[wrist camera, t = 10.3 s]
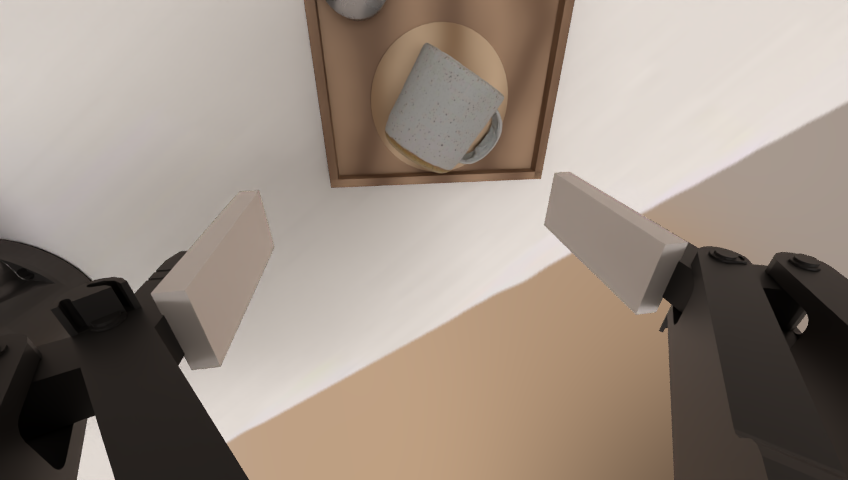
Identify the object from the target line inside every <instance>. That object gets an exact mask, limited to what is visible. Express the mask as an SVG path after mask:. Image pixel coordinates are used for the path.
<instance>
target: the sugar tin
mask: <svg viewBox="0 0 848 480" xmlns="http://www.w3.org/2000/svg"><path fill="white" fill-rule="evenodd" d="M325 1H326V2H327V3H328V4H329V5H330V7H332V8H333V9H334V10H335V11H336V12H337V13H339V14H340V15H342V16H344V17H346V18H348V19H350V20H354V21H364V20H368V19H370V18H372V17H374V16H375V15H376V14H377V13H378V12H379V11H380V10H381V8H382V7H383V5H384V3H385V1H386V0H325Z"/></svg>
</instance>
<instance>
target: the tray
mask: <svg viewBox="0 0 848 480" xmlns="http://www.w3.org/2000/svg"><path fill="white" fill-rule="evenodd" d="M574 1H575V0H386V1H385V3H384V5H383V7H382V8H381V10H380V11H379V12H378V13H377V14H376V15H375V16H374V17H372V18H370V19H368V20H364V21H354V20H350V19H348V18H346V17H344V16H342V15H340V14H339V13H337V12H336V11H335V10H334V9H333V8H332V7H330V5H329V4H328V3H327V2H326V1H325V0H304V4H305V11H306V18H307V25H308V32H309V39H310V46H311V52H312V59H313V66H314V73H315V80H316V87H317V94H318V100H319V107H320V114H321V121H322V128H323V135H324V142H325V148H326V155H327V162H328V169H329V176H330V183H331V188H336V187H359V186H382V185H406V184H429V183H452V182H476V181H499V180H522V179H541V175H542V170H543V164H544V159H545V154H546V149H547V143H548V138H549V133H550V128H551V122H552V117H553V112H554V106H555V101H556V96H557V91H558V85H559V80H560V75H561V70H562V64H563V59H564V54H565V48H566V43H567V38H568V33H569V27H570V22H571V17H572V12H573V6H574ZM425 43H429V44H431V45H433V46H435V47H437V48H438V49H440V50H441V51H442V52H444V53H446V54H448V55H449V56H451V57H452V58H454V59H455V60H457V61H458V62H459V63H461V64H462V65H463V66H465V67H466V68H468V69H469V70H471V71H472V72H474V73H475V74H476V75H478V76H479V77H480V78H482V79H483V80H485V81H486V82H488V83H489V84H490V85H492V86H493V87H494V88H495V89H497V90H498V91H499V92H500V93H502V94H503V96H504V100H503V102H502V103H501V105H500V106H499V108H498V111H499V113H500V116H501V118H502V132H501V135H500V138H499V140H498V142H497V143H496V145H495V146H494V148H493V149H492V150H491V151H490V152H489V153H488V154H487V155H486V156H485V157H484V158H483V159H481V160H479V161H477V162H475V163H472V164H462V163H458V164H457V165H456V166H455V167H454V168H453V169H452V170H451V171H449V172H447V173H436V172H433V171H430V170H428V169H425V168H423V167H421V166H419V165H417V164H416V163H414V162H412V161H411V160H409V159H408V158H406V157H405V156H403V155H402V154H401V153H399V152H398V151H397V150H396V149H395V148H394V147H393V146H392V145H391V144H390V143H389V142H388V140H387V138H386V135H385V127H386V124H387V121H388V118H389V114H390V112H391V110H392V108H393V106H394V104H395V102H396V101H397V99H398V97H399V95H400V93H401V91H402V88H403V86H404V84H405V82H406V80H407V78H408V76H409V74H410V72H411V70H412V68H413V66H414V64H415V62H416V60H417V58H418V55H419V53H420V51H421V49H422V47H423V45H424V44H425ZM491 121H492V118H491V119H490V120H489V121H488V123H487V124H486V125H485V127H484V128H483V129H482V131H481V132H480V133H479V135H478V136H477V137H476V139H475V140H474V141H473V143H472V144H471V146H470V148H469V149H468V151H467V152H466V154H467V153H470V152H472V151H473V150H474V149H475V147H477V146H478V145H479V144H480V142H481V141H482V140H483V139H484V137H485V136H486V135H487V133H488V132H489V129H490V127H491Z"/></svg>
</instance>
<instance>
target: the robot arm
mask: <svg viewBox="0 0 848 480" xmlns="http://www.w3.org/2000/svg"><path fill="white" fill-rule="evenodd" d="M544 226H546V227H547V228H548V229H549V230H550V231H551V232H552V233H553V234H554V235H555V236H556V237H557V238H558V239H559V240H560V241H561V242H562V243H563V244H564V245H565V246H566V247H567V248H568V249H569V250H570V251H571V252H572V253H573V254H574V255H575V256H576V257H577V258H578V259H579V260H580V261H581V262H583V264H585V265H586V266H587V267H588V268H589V269H590V270H591V271H592V272H593V273H594V274H595V275H596V276H597V277H598V278H599V279H600V280H601V281H602V282H603V283H604V284H605V285H606V286H607V287H608V288H609V289H610V290H611V291H612V292H613V293H614V294H615V295H616V296H617V297H618V298H619V299H620V300H621V301H622V302H624V304H626V305H627V306H628V307H629V308H630V309H631V310H632V311H633V312H634V313H635V314H636V315H637V314H645V313H652V312H656V311H657V309H658V307H659V305H660V303H661V301H662V298H664V299H666V300H667V301H668V302H669V303H670V304H672V305H671V307H670V309H669V311H668V313H667V315H666V317H665V319H664V321H663V323H662V326H661V328H660V330H659V331H661V332H663V331H664V329H665V328H668V343H669V367H670V390H671V414H672V437H673V461H674V480H848V279H847V278H845V277H844V276H843V275H841V274H840V273H839V272H837V271H836V270H835V269H834V268H832V267H831V266H829V265H827V264H826V263H824V262H821V261H819V260H817V259H816V258H814V257H811V256H807V255H804V254H795V253H788V252H780V253H776V254H775V255H774V257H773V259H772V260H771V262H770V264H769V265H768V266H764V265H753V264H752V263H751V262H750V261H749V260H748V259H747V258H746V257H744V256H742V255H740V254H738V253H736V252H733V251H730V250H727V249H723V248H719V247H712V246H707V247H701V248H697V247H696V246H694V245H692V244H690V243H689V242H687V241H685V240H684V239H682V238H680V237H679V236H677V235H675V234H674V233H671V232H670V231H669V230H667V229H665V228H663V227H661V226H660V225H658V224H657V223H655V222H654V221H652V220H650V219H648V218H646V217H645V216H643V215H641V214H640V213H638V212H636V211H634V210H633V209H631V208H629V207H628V206H626V205H624V204H623V203H621V202H619V201H618V200H616V199H614V198H613V197H611V196H609V195H608V194H606V193H604V192H603V191H601V190H599V189H598V188H596V187H594V186H593V185H591V184H589V183H587V182H586V181H584V180H582V179H581V178H579V177H577V176H576V175H574V174H572V173H571V172H560V173H554V178H553V183H552V188H551V193H550V198H549V203H548V208H547V213H546V218H545V223H544ZM273 249H274V244H273V240H272V236H271V233H270V229H269V225H268V222H267V218H266V214H265V211H264V207H263V203H262V200H261V196H260V192H259V190H258V191H241V192H239V193H238V194H237V195H236V196H235V197H234V198H233V200H232V201H231V202H230V203H229V204H228V205H227V206H226V208H225V209H224V210H223V211H222V212H221V213H220V214H219V216H218V217H217V218H216V219H215V220H214V221H213V222H212V224H211V225H210V226H209V227H208V228H207V229H206V231H205V232H204V233H203V234H202V235H201V236H200V237H199V239H198V240H197V241H196V242H195V243H194V244H193V245H192V247H191V248H190V249H189V250H188V251H181V252H179V253H177V254H175V255H174V256H172V257H171V258H169V259H167V260H166V261H165V262H164V263H163V264H162V265H161V266H160V267H159V268H158V269H157V270H156V272H154V273H153V274H152V276H151V277H150V278H149V281H146V282H145V283H144V284H143V285H142V286H141V287H140V288H139V289H138V290H137V292H136V293H135V294H134V293H133V291H132V289H131V287H130V286H129V284H128V282H127V281H126V280H124V279H123V278H117V277H110V278H103V279H98V280H94V281H90V280H89V279H88V278H87V277H86V276H85V275H84V274H82V273H81V272H80V271H79V270H77V269H76V268H74V267H73V266H72V265H70V264H68V263H67V262H65V261H63V260H62V259H60V258H58V257H56V256H54V255H52V254H50V253H47V252H45V251H43V250H40V249H37V248H34V247H31V246H28V245H24V244H21V243H16V242H12V241H6V240H0V480H77V475H78V469H79V463H80V458H81V452H82V446H83V441H84V435H85V429H86V424H87V418H89V417H92V416H96V419H97V423H98V426H99V429H100V432H101V436H102V439H103V442H104V445H105V448H106V452H107V455H108V458H109V461H110V465H111V468H112V471H113V474H114V478H115V480H249V479H248V477H247V476H246V474H245V473H244V471H243V469H242V468H241V466H240V465H239V463H238V461H237V460H236V458H235V456H234V455H233V453H232V452H231V450H230V449H229V447H228V445H227V444H226V442H225V440H224V439H223V437H222V436H221V434H220V432H219V431H218V429H217V428H216V426H215V424H214V423H213V421H212V419H211V418H210V416H209V415H208V413H207V411H206V410H205V408H204V407H203V405H202V403H201V402H200V400H199V399H198V397H197V395H196V394H195V392H194V391H193V389H192V387H191V386H190V384H189V382H188V381H187V379H186V378H185V376H184V374H183V373H182V371H181V370H180V368H179V366H178V365H179V363H180V362H181V360H182V358H183V357H185V359H186V361H187V363H188V364H189V366H190V368H191V370H197V369H205V368H213V367H221V365H222V362H223V360H224V358H225V356H226V354H227V351H228V349H229V347H230V345H231V343H232V340H233V338H234V336H235V334H236V331H237V329H238V327H239V325H240V323H241V320H242V318H243V316H244V314H245V311H246V309H247V307H248V305H249V303H250V300H251V298H252V296H253V294H254V291H255V289H256V287H257V285H258V283H259V280H260V278H261V276H262V274H263V271H264V269H265V267H266V265H267V263H268V260H269V258H270V256H271V254H272V251H273ZM806 314H807V315H808V319H809V321H808V326H807V328H806V330H805V331H804V332H803V333H801V332H800V331H799V329H798V328H797V325H798V324H799V323H800V322H801V320H802V319H803V318H804V316H805V315H806Z"/></svg>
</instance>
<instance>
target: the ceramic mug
mask: <svg viewBox="0 0 848 480" xmlns="http://www.w3.org/2000/svg"><path fill="white" fill-rule="evenodd" d="M503 100H504V96H503V94H502V93H500V92H499V91H498V90H497V89H495V88H494V87H493V86H492V85H490V84H489V83H488V82H486V81H485V80H483V79H482V78H480V77H479V76H478V75H476V74H475V73H474V72H472V71H471V70H469V69H468V68H466V67H465V66H463V65H462V64H461V63H459V62H458V61H457V60H455V59H454V58H452V57H451V56H449V55H448V54H446V53H444V52H442V51H441V50H440V49H438V48H437V47H435V46H433V45H431V44H429V43H425V44H424V45H423V47H422V49H421V51H420V53H419V55H418V58H417V60H416V62H415V64H414V66H413V68H412V70H411V72H410V74H409V76H408V78H407V80H406V82H405V84H404V86H403V88H402V91H401V93H400V95H399V97H398V99H397V101H396V102H395V104H394V106H393V108H392V110H391V112H390V114H389V118H388V121H387V124H386V127H385V135H386V138H387V140H388V142H389V143H390V144H391V145H392V146H393V147H394V148H395V149H396V150H397V151H398V152H399V153H401V154H402V155H403V156H405V157H406V158H408V159H409V160H411V161H412V162H414V163H416V164H417V165H419V166H421V167H423V168H425V169H428V170H430V171H433V172H436V173H447V172H449V171H451V170H452V169H453V168H454V167H455V166H456V165H457V164H458V163H462V164H472V163H475V162H477V161H479V160H481V159H483V158H484V157H485V156H486V155H487V154H488V153H489V152H490V151H491V150H492V149H493V148H494V146H495V145H496V143H497V142H498V140H499V138H500V135H501V132H502V118H501V116H500V113H499V111H498V108H499V106H500V105H501V103H502V102H503ZM491 118H492V121H491V127H490V129H489V132H488V133H487V135H486V136H485V137H484V139H483V140H482V141H481V142H480V144H479V145H478V146H477V147H475V149H474V150H473V151H472V152H470V153H467V154H466V152H467V151H468V149H469V148H470V146H471V144H472V143H473V141H474V140H475V139H476V137H477V136H478V135H479V133H480V132H481V131H482V129H483V128H484V127H485V125H486V124H487V123H488V121H489V120H490V119H491Z"/></svg>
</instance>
